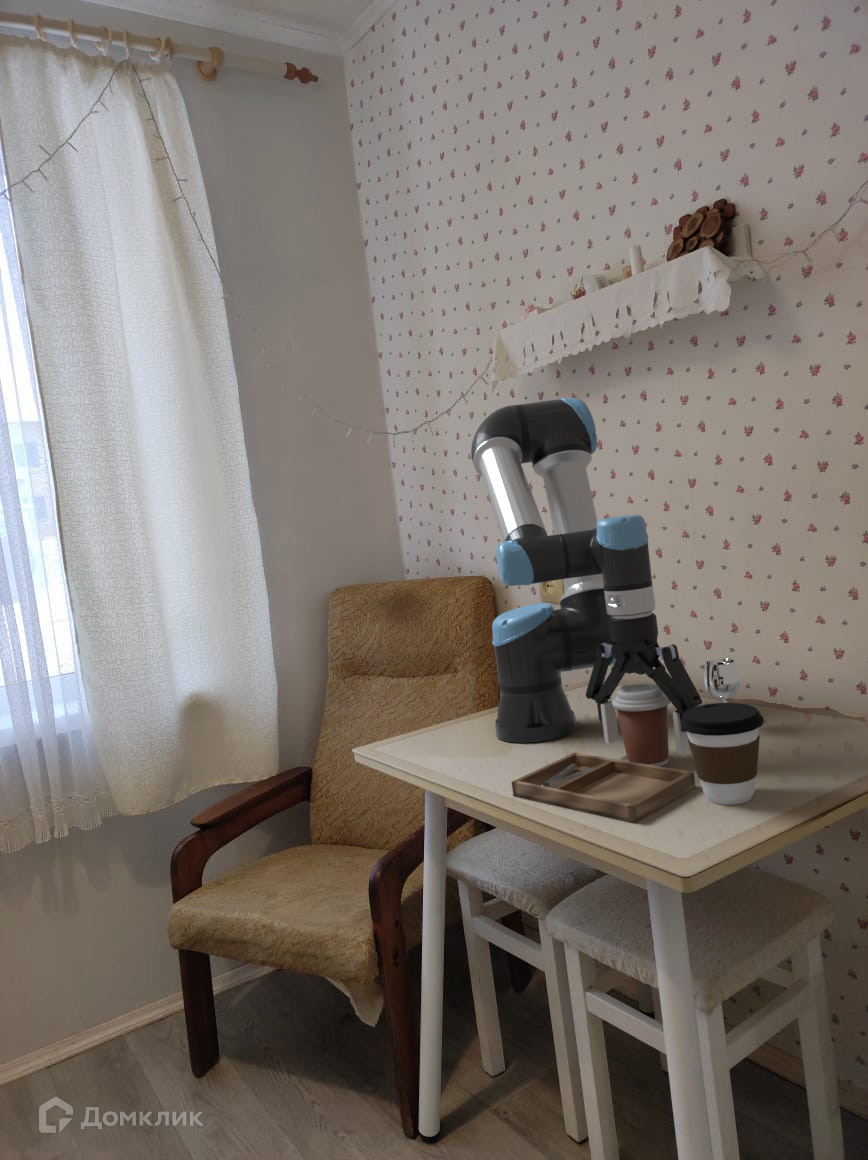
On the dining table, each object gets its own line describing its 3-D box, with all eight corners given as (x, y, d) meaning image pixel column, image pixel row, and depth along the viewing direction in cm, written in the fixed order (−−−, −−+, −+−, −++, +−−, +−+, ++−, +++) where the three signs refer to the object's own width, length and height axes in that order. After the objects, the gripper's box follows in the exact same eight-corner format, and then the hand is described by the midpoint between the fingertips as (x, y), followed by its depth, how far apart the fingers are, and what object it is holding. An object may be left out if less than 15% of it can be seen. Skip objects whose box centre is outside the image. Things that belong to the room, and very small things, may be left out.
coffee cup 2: (677, 790, 128) (668, 709, 127) (751, 778, 129) (742, 697, 128) (705, 817, 117) (696, 728, 116) (786, 804, 118) (777, 715, 117)
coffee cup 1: (685, 754, 143) (677, 681, 142) (666, 773, 136) (658, 696, 135) (631, 751, 148) (623, 680, 147) (610, 769, 141) (601, 695, 140)
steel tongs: (553, 796, 131) (553, 789, 131) (528, 790, 135) (527, 783, 135) (598, 773, 138) (597, 766, 138) (573, 769, 142) (572, 762, 142)
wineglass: (740, 724, 155) (733, 656, 154) (748, 733, 149) (741, 663, 148) (706, 727, 155) (699, 660, 154) (713, 737, 150) (706, 667, 149)
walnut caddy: (513, 795, 135) (511, 781, 135) (575, 765, 145) (574, 752, 145) (634, 823, 119) (632, 807, 118) (695, 787, 128) (693, 772, 128)
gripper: (554, 618, 147) (570, 743, 148) (687, 619, 128) (704, 763, 130) (583, 609, 151) (598, 731, 153) (715, 610, 133) (730, 748, 135)
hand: (646, 746), depth 142 cm, fingers open, 13 cm apart
